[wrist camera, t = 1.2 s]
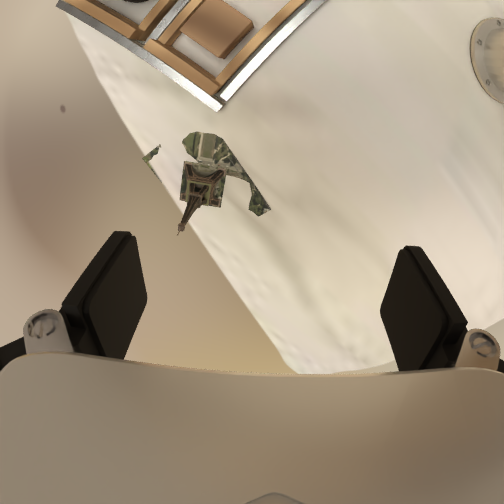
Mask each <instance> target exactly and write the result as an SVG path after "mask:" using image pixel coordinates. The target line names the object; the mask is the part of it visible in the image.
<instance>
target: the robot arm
mask: <svg viewBox="0 0 504 504" xmlns="http://www.w3.org/2000/svg"><path fill="white" fill-rule="evenodd" d="M471 58H472V64H473V67H474V71H475V73H476V75H477V78H478V80H479V82H480V83H481V85H482V87H483V88H484V89H485V91H486V92H487V93H488V94H489V95H490V96H491V97H492V98H494V99H495V100H497V101H498V102H501V103H504V19H500V18H489V19H485V20H483V21H481V22H480V23H479V24H478V25H477V27H476V28H475V30H474V32H473V35H472V39H471ZM146 303H147V292H146V288H145V283H144V278H143V273H142V268H141V263H140V258H139V252H138V246H137V240H136V237H135V236H132V234H131V233H130V232H127V231H114V232H113V234H112V235H111V236H110V237H109V238H108V240H107V241H106V242H105V244H104V245H103V246H102V248H101V249H100V250H99V252H98V253H97V254H96V256H95V257H94V258H93V260H92V261H91V263H90V264H89V265H88V266H87V268H86V269H85V271H84V272H83V273H82V275H81V276H80V278H79V279H78V281H77V282H76V283H75V285H74V286H73V288H72V289H71V291H70V292H69V293H68V295H67V297H66V298H65V300H64V301H63V302H62V307H61V309H60V310H59V312H58V311H56V310H53V309H46V310H42V311H39V312H37V313H35V314H34V315H32V316H31V317H30V318H29V319H28V320H27V322H26V323H25V325H24V328H23V334H24V337H22V338H20V339H18V340H15V341H13V342H11V343H9V344H7V345H5V346H3V347H0V504H504V361H503V360H501V359H500V358H499V357H500V346H499V344H498V342H497V341H496V339H495V338H494V337H493V336H492V335H491V334H490V333H488V332H487V331H484V330H482V329H471V330H469V331H468V330H467V328H466V325H467V323H468V322H467V320H466V318H465V316H464V315H463V313H462V311H461V309H460V308H459V306H458V304H457V303H456V301H455V299H454V298H453V296H452V294H451V293H450V291H449V289H448V288H447V286H446V285H445V283H444V281H443V280H442V278H441V277H440V275H439V274H438V272H437V270H436V269H435V267H434V266H433V264H432V263H431V261H430V260H429V258H428V257H427V255H426V254H425V252H424V251H423V249H422V248H421V247H419V246H405V247H404V248H403V249H401V250H400V251H399V253H398V256H397V259H396V262H395V266H394V269H393V272H392V275H391V278H390V281H389V284H388V287H387V290H386V293H385V296H384V299H383V301H382V304H381V308H380V315H381V318H382V321H383V324H384V326H385V329H386V332H387V335H388V338H389V341H390V344H391V347H392V350H393V353H394V356H395V360H396V363H397V366H398V369H399V371H398V372H383V373H361V374H270V373H249V372H232V371H218V370H206V369H195V368H185V367H176V366H167V365H159V364H151V363H143V362H136V361H129V360H124V357H125V355H126V352H127V350H128V347H129V345H130V342H131V340H132V337H133V335H134V332H135V330H136V328H137V325H138V323H139V320H140V318H141V316H142V313H143V311H144V308H145V306H146Z"/></svg>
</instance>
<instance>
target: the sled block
mask: <svg viewBox="0 0 504 504" xmlns="http://www.w3.org/2000/svg"><path fill="white" fill-rule="evenodd" d="M205 1H206V0H191V1H190V2H189V3H188V4H187V5H186V6H185V8H184V9H183V10H182V11H181V12H180V13H179V14H178V16H177V17H176V18H175V19H174V20H173V22H172V23H171V24H170V25H169V26H168V28H167V29H166V30H165V31H164V33H163V34H162V35H161V36H160V38H159V39H158V40H155V39H151V38H150V39H149V40H148V41H147V43H146V44H145V45H144V47H143V48H144V49H146V50H147V51H149V52H150V53H152V54H153V55H155V56H156V57H158V58H159V59H161V60H162V61H163V62H165V63H166V64H168V65H169V66H171V67H172V68H174V69H175V70H176V71H178V72H179V73H181V74H182V75H183V76H185V77H186V78H188V79H189V80H190V81H192V82H193V83H195V84H196V85H197V86H199V87H200V88H201V89H203V90H204V91H205V92H207V93H208V94H209V95H213V94H216V93H218V92H219V91H220V89H221V88H222V87H223V86H224V85H225V84H226V82H227V81H228V80H229V79H230V78H231V77H232V76H233V75H234V73H235V72H236V71H237V70H238V69H239V68H240V67H241V66H242V65H243V63H244V62H245V61H246V60H247V59H248V58H249V57H250V56H251V55H252V54H253V53H254V52H255V51H256V50H257V48H258V47H259V46H260V45H261V44H262V43H263V42H264V41H265V40H266V39H267V38H268V37H269V36H270V35H271V34H272V33H273V32H274V31H275V30H276V29H277V28H278V27H279V26H280V25H281V24H282V23H283V22H284V21H285V20H286V19H287V18H288V17H289V16H291V15H292V14H293V13H294V12H295V11H296V10H297V9H298V8H299V7H300V6H301V5H302V4H303V3H305V2H306V1H307V0H291V1H290V2H289V3H287V4H286V5H285V6H284V7H283V8H282V9H281V10H280V11H279V12H278V13H277V14H276V15H275V16H274V17H273V18H272V19H271V20H270V21H269V22H268V23H267V24H266V25H265V26H264V27H263V28H262V29H261V30H260V31H259V32H258V33H257V34H256V35H255V36H254V37H253V38H252V39H251V40H250V41H249V42H248V43H247V44H246V45H245V46H244V48H243V49H242V50H241V51H240V52H239V53H238V54H237V55H236V56H235V57H234V58H233V60H232V61H231V62H230V63H229V64H228V65H227V66H226V67H225V68H224V70H223V71H222V72H221V73H220V74H219V75H218V77H217V78H216V77H214V76H213V75H212V74H210V73H209V72H207V71H206V70H205V69H203V68H202V67H201V66H199V65H198V64H196V63H195V62H194V61H192V60H191V59H189V58H188V57H186V56H185V55H184V54H182V53H181V52H179V51H178V50H176V49H175V48H173V47H172V46H171V45H172V44H173V43H174V41H175V40H176V39H177V38H178V36H179V35H180V34H181V33H182V32H181V31H179V30H180V29H181V28H182V27H183V25H184V24H185V23H186V22H187V21H188V20H189V18H190V17H191V16H192V15H193V14H194V13H195V12H196V11H197V9H198V8H199V7H200V6H201V5H202V4H203V3H204V2H205Z"/></svg>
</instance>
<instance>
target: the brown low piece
mask: <svg viewBox="0 0 504 504" xmlns="http://www.w3.org/2000/svg"><path fill="white" fill-rule="evenodd" d="M64 1H65V2H67V3H69V4H71V5H73V6H75V7H77V8H78V9H80V10H82V11H84V12H85V13H87V14H89V15H91V16H92V17H94V18H96V19H98V20H99V21H101V22H103V23H104V24H106V25H108V26H109V27H111V28H113V29H114V30H116V31H118V32H119V33H121V34H122V35H124V36H126V37H127V38H129V39H135V40H141V41H146V40H147V38H148V37H149V36H150V34H151V33H152V32H153V30H154V29H155V28H156V27H157V25H158V24H159V23H160V22H161V20H162V19H163V18H164V17H165V16H166V14H167V13H168V12H169V11H170V10H171V9H172V7H173V6H174V5H175V4H176V3H177V2H178V0H159V1H158V2H157V4H156V5H155V6H154V7H153V9H152V10H151V11H150V12H149V13H148V15H147V16H146V17H145V18H144V20H143V21H142V22H141V24H140V25H138V24H136V23H134V22H133V21H131V20H130V19H128V18H126V17H125V16H123V15H121V14H119V13H118V12H116V11H114V10H113V9H111V8H109V7H107V6H105V5H104V4H102V3H100V2H98V1H96V0H64Z"/></svg>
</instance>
